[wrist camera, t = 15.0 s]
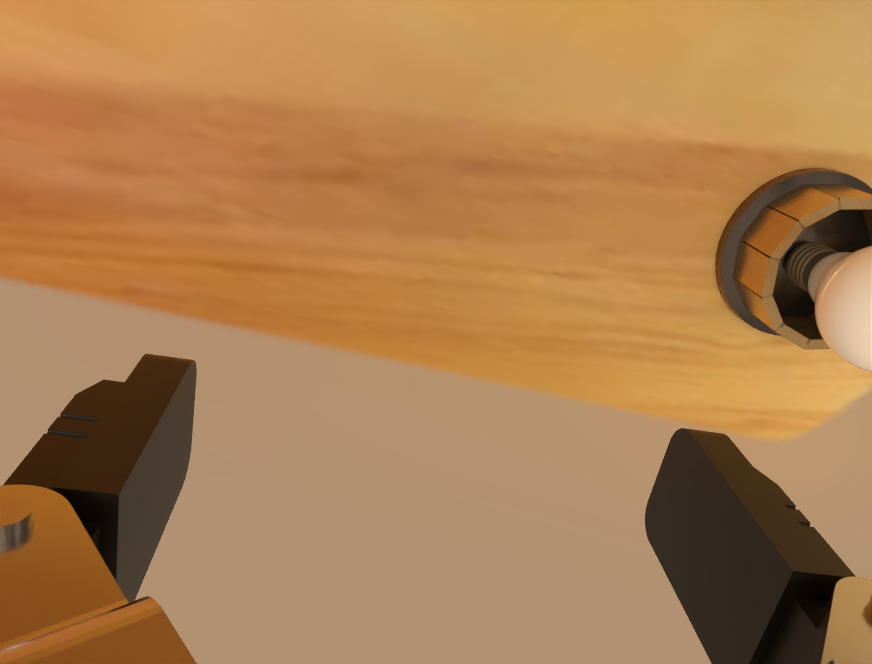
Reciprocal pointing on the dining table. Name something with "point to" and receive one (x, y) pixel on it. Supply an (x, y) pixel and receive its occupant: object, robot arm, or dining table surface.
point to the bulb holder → (789, 247)
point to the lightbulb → (838, 297)
